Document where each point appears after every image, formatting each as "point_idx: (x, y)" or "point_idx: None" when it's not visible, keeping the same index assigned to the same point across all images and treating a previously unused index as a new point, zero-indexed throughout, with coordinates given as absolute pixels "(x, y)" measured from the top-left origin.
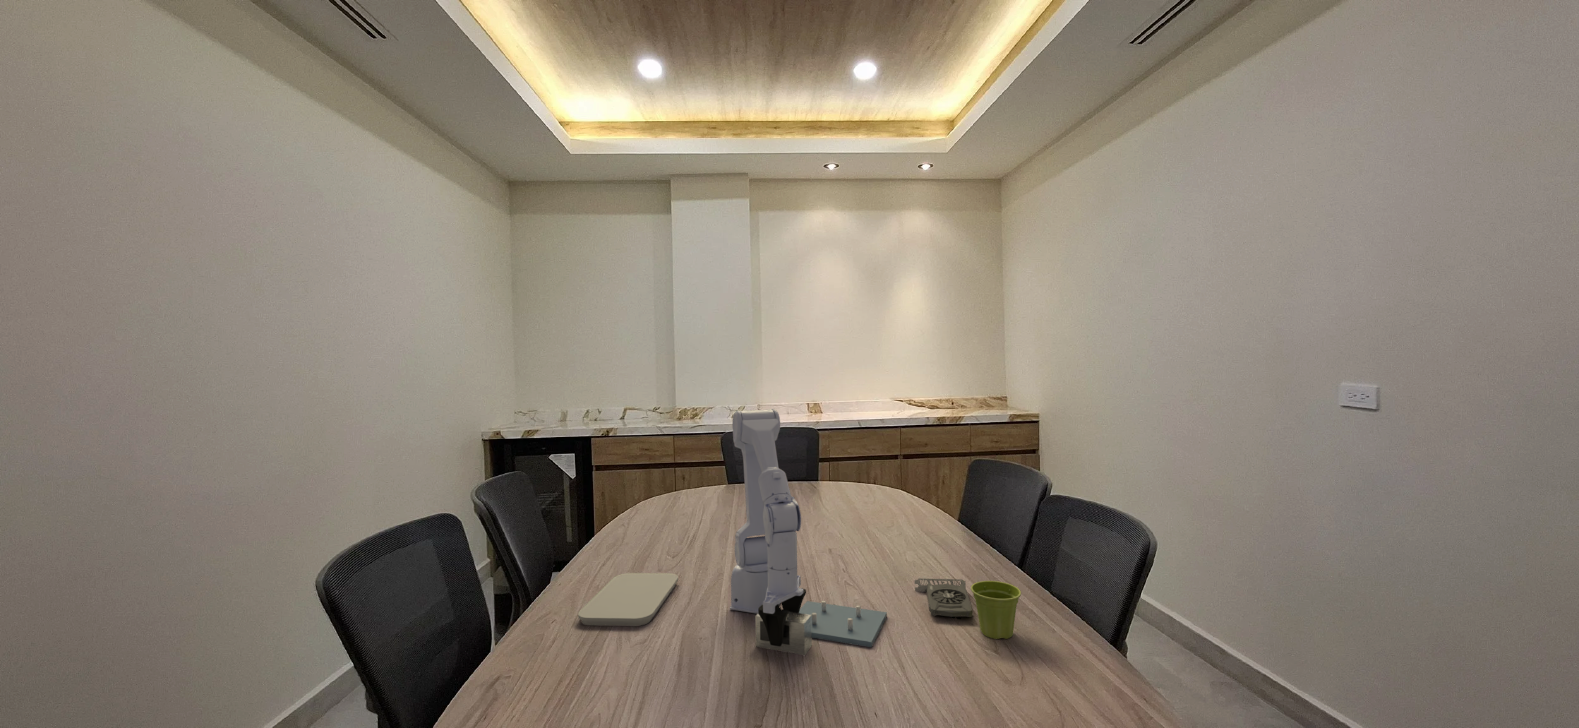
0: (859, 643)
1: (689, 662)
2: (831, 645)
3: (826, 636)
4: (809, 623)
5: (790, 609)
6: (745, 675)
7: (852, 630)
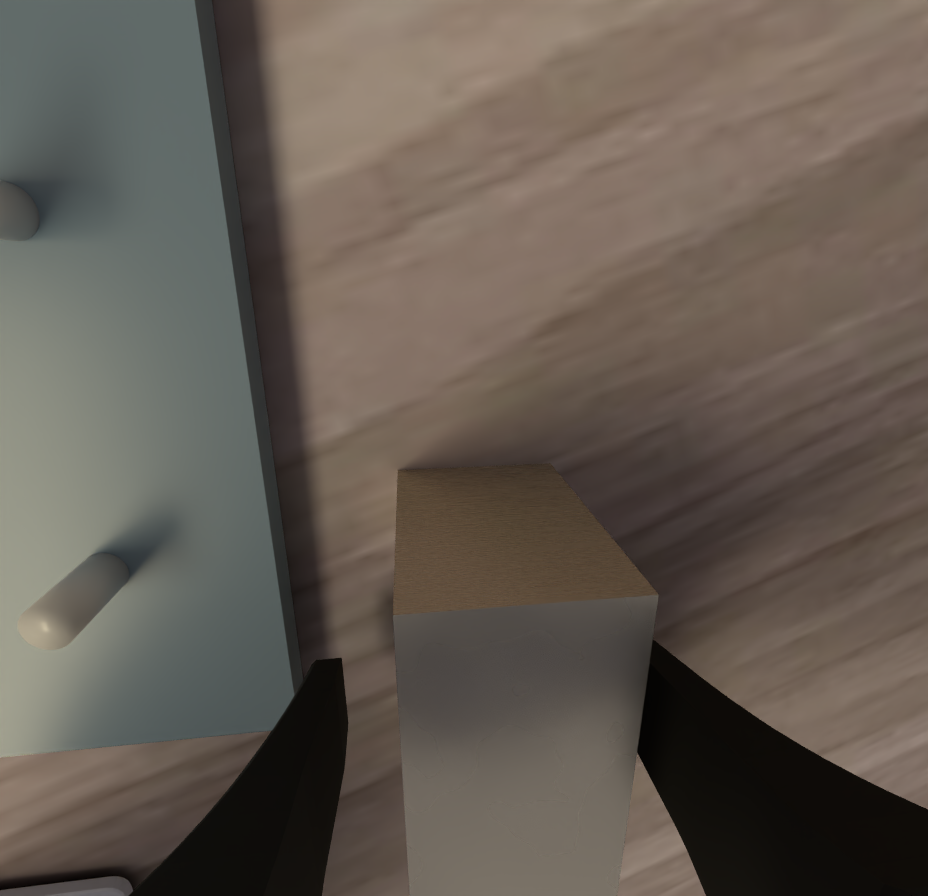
0: (212, 52)
1: None
2: (338, 326)
3: (256, 402)
4: (459, 565)
5: (310, 846)
6: (833, 657)
7: (23, 179)
